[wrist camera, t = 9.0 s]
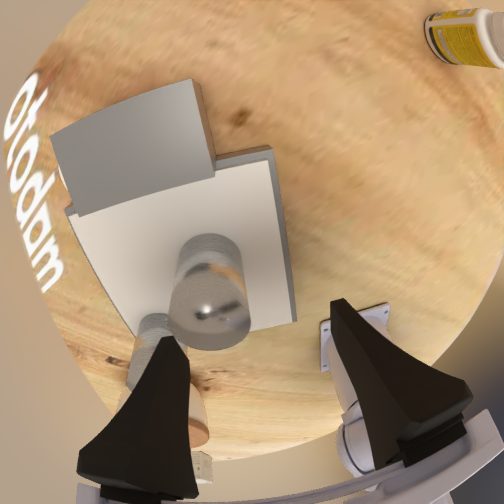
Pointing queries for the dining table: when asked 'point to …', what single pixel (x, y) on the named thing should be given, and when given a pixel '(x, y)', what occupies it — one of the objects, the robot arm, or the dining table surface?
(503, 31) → the supplement bottle
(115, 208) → the scale
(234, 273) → the cylinder
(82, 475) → the robot arm
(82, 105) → the dining table surface
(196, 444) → the lidded jar
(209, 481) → the product box
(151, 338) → the cylinder
